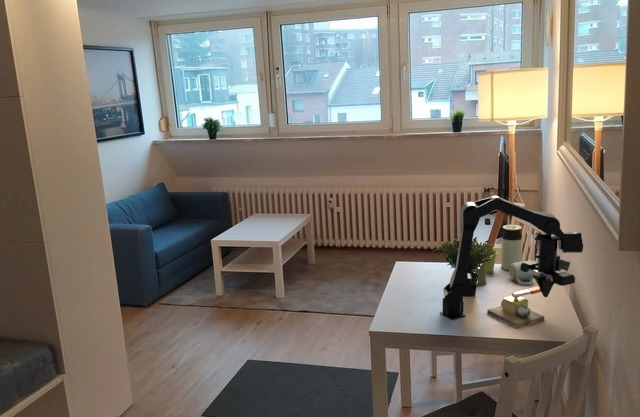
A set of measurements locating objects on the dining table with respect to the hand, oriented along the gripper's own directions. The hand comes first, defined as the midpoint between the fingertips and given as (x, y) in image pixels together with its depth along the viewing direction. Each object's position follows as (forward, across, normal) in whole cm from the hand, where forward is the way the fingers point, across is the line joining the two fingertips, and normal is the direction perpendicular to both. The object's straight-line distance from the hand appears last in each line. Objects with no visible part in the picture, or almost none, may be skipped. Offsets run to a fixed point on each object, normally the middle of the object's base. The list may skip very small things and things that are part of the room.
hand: (545, 296), depth 196 cm
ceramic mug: (+8, +30, -19) cm, 37 cm away
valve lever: (0, +5, +4) cm, 6 cm away
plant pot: (+8, +47, -14) cm, 50 cm away
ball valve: (+6, +5, +8) cm, 11 cm away
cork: (+8, +37, -2) cm, 38 cm away
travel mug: (+7, +45, -26) cm, 53 cm away
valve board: (+7, +5, +8) cm, 12 cm away
